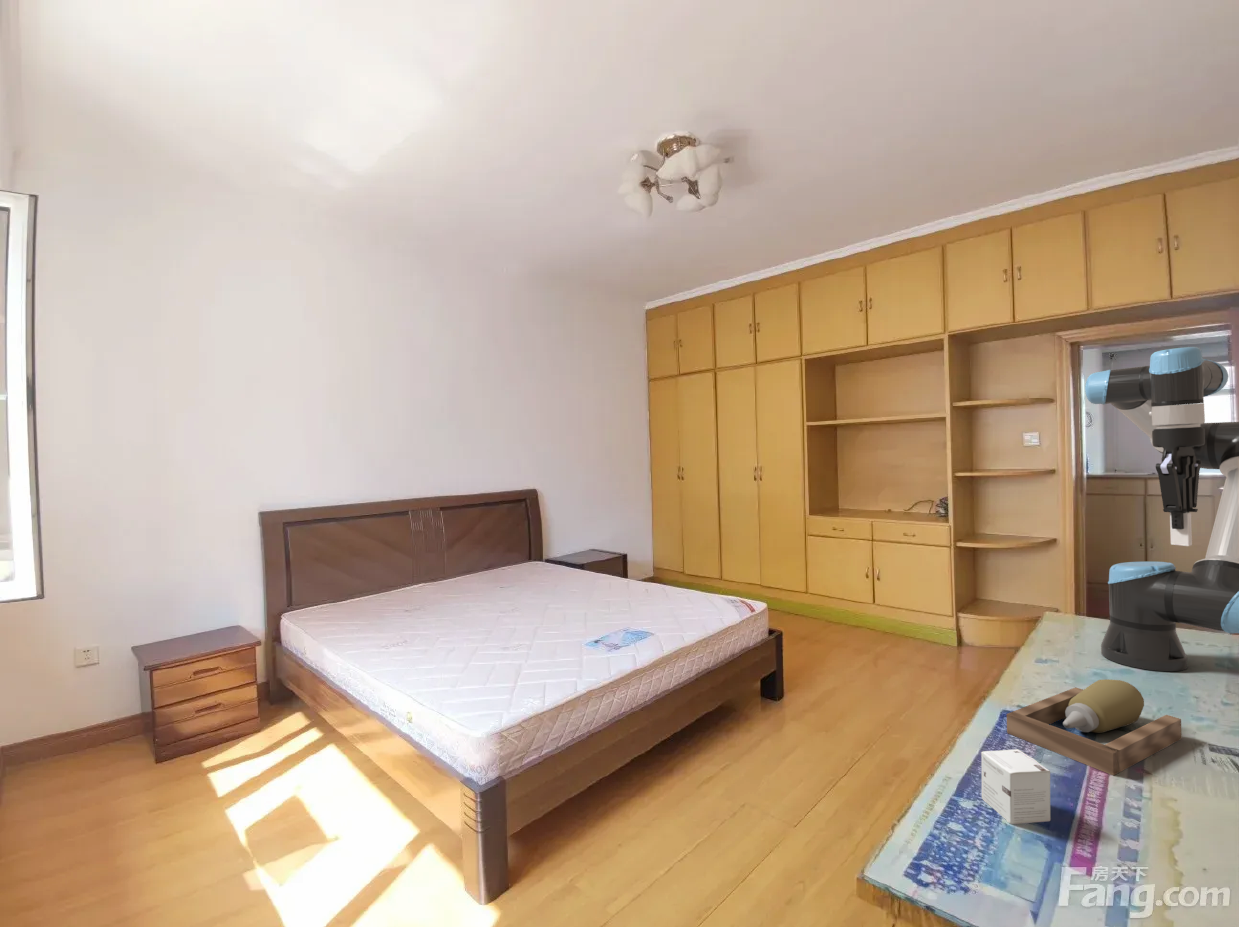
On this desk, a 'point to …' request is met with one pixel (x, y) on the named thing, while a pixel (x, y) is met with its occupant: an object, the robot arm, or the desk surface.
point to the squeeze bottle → (1104, 707)
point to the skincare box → (1016, 786)
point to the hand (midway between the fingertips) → (1181, 544)
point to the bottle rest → (1108, 757)
